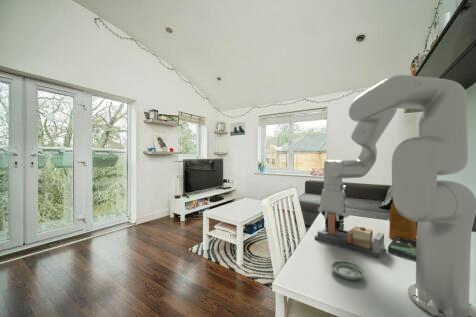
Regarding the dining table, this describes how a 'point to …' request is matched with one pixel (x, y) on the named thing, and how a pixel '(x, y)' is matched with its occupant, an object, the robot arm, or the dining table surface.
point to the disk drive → (403, 247)
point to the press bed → (342, 242)
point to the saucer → (347, 269)
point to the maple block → (362, 237)
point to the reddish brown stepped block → (334, 232)
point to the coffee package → (401, 225)
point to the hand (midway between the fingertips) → (332, 227)
